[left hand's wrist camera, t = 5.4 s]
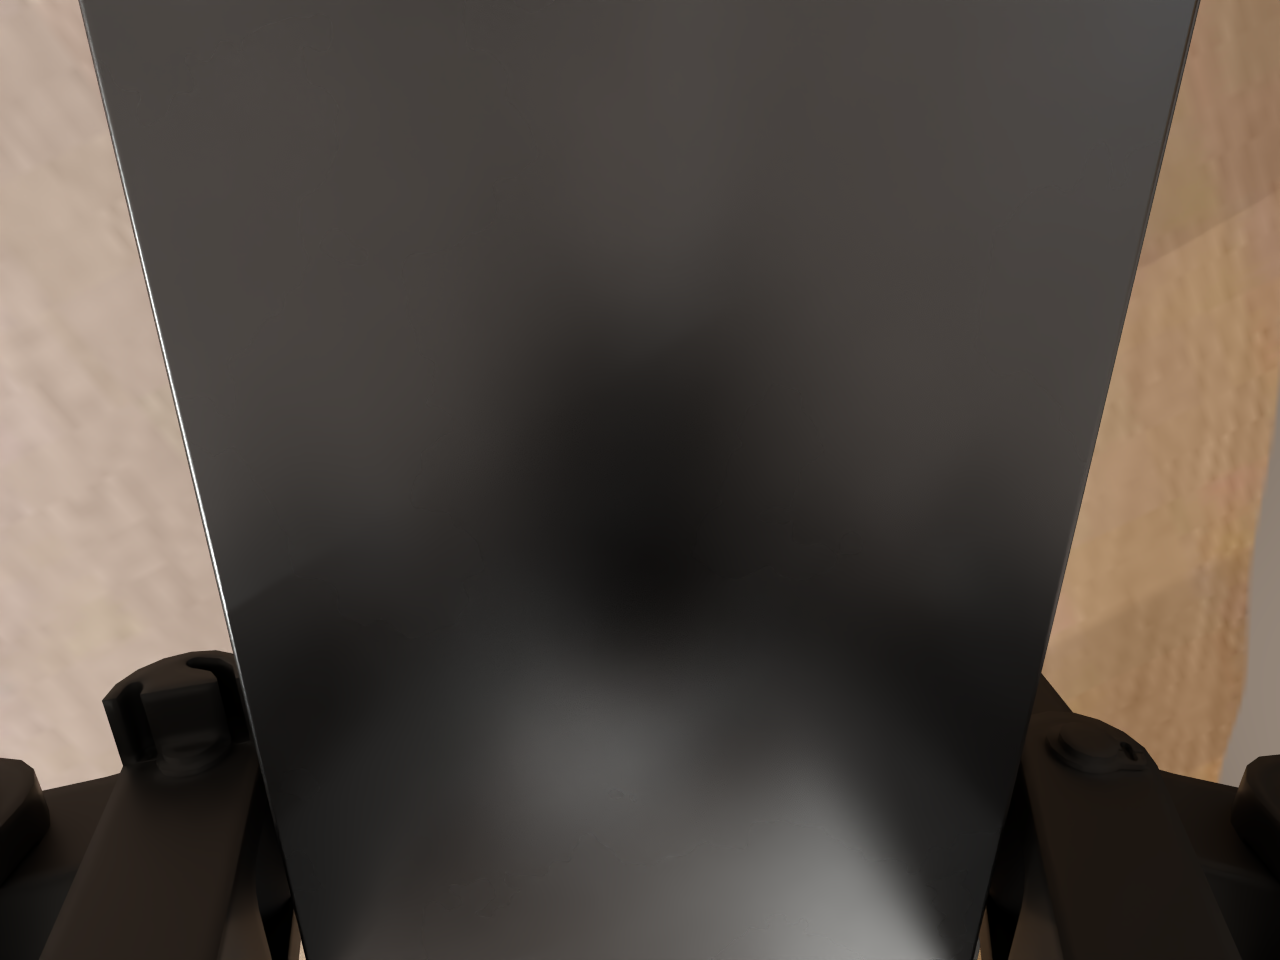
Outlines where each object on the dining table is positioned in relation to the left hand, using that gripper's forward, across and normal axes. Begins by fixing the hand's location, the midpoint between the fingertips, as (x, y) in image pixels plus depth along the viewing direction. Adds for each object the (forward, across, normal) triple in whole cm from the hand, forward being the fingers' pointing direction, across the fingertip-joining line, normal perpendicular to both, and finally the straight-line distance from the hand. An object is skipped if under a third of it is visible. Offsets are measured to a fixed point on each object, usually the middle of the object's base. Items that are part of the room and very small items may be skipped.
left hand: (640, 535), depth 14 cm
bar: (0, 0, -9) cm, 9 cm away
